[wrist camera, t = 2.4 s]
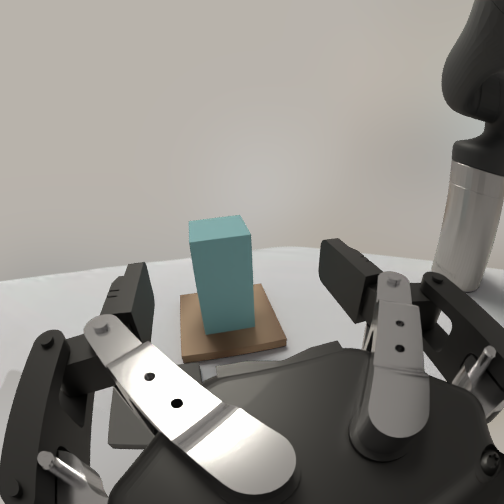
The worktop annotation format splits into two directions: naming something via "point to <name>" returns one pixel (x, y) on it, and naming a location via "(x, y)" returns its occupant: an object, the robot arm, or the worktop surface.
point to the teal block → (223, 273)
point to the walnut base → (229, 342)
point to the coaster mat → (136, 418)
